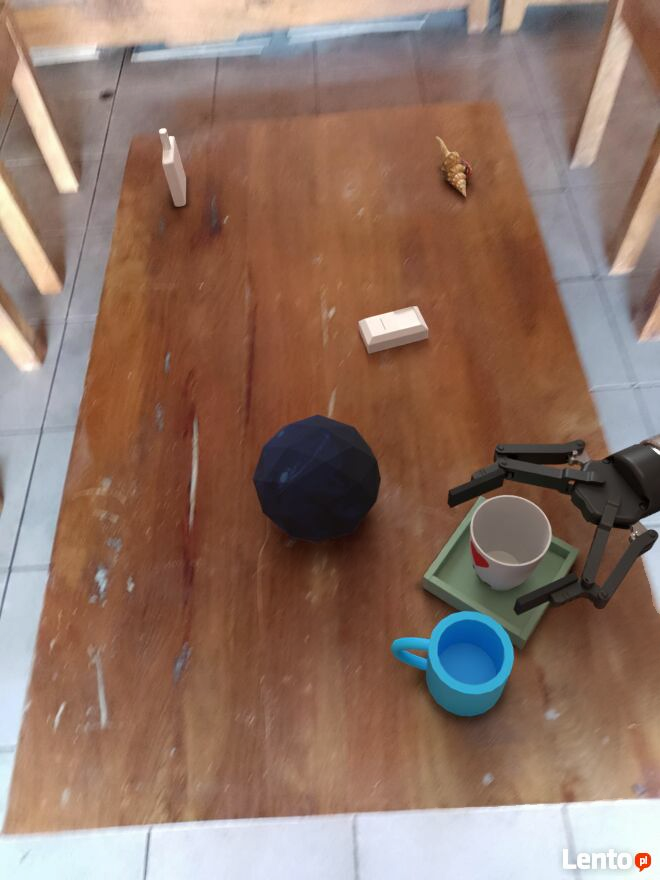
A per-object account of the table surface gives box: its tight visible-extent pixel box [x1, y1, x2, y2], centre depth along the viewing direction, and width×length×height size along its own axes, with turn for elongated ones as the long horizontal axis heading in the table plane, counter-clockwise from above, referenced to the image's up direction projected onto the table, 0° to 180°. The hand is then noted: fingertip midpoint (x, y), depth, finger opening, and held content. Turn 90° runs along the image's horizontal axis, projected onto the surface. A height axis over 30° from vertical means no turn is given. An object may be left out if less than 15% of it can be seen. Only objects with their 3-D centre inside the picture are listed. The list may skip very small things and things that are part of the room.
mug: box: [390, 611, 515, 717], centre depth 73 cm, size 12×8×8 cm
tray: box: [422, 495, 581, 651], centre depth 81 cm, size 13×13×3 cm
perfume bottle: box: [158, 127, 187, 208], centre depth 123 cm, size 8×2×12 cm, turn 6°
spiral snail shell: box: [434, 136, 474, 198], centre depth 123 cm, size 14×5×4 cm, turn 33°
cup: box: [469, 494, 553, 591], centre depth 77 cm, size 8×8×10 cm
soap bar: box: [357, 305, 430, 355], centre depth 103 cm, size 5×9×3 cm, turn 105°
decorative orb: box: [252, 414, 382, 544], centre depth 83 cm, size 14×15×15 cm
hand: (481, 550), depth 74 cm, fingers open, 13 cm apart
